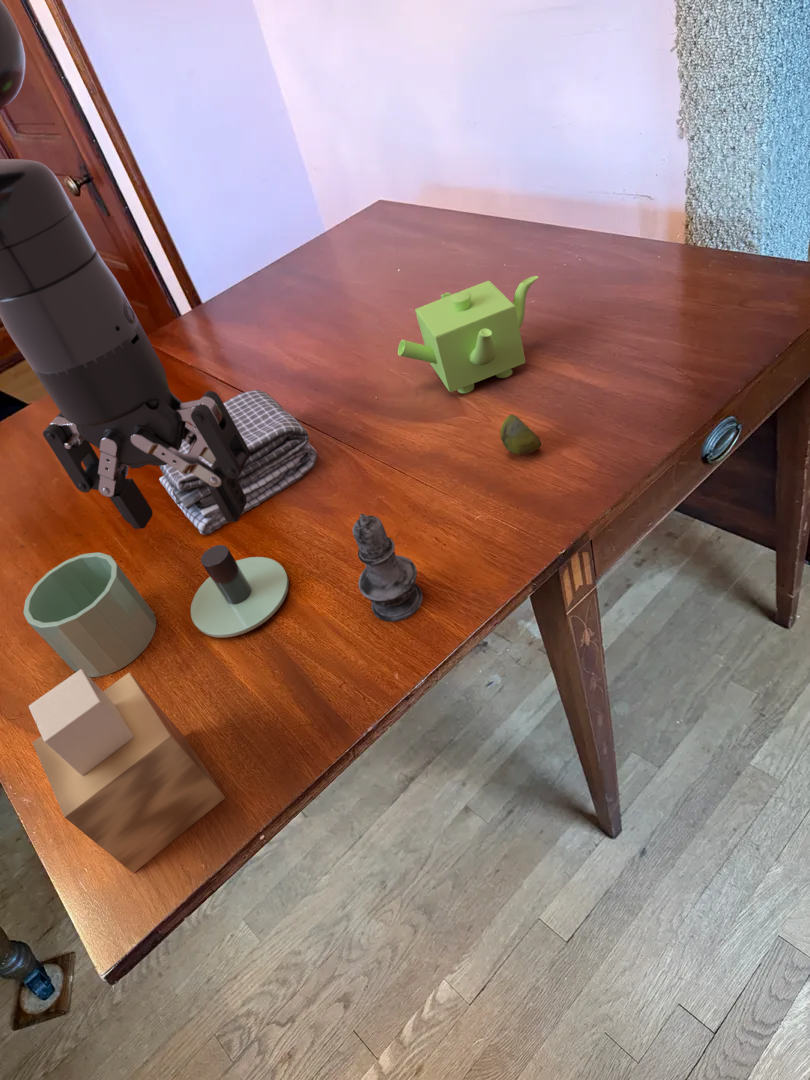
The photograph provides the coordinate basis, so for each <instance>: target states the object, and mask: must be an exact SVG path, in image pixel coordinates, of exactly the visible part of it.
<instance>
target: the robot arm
mask: <svg viewBox="0 0 810 1080" xmlns="http://www.w3.org/2000/svg"><path fill="white" fill-rule="evenodd" d="M24 47H25V46H24V43H23V40H22V37H21V34H20V30H19V29H18V25H17V24H16V21H15V20H14V17H13V16H12V14H11V12H10V11H9V9H8V7H7V6H6V4H5V3H4V2H3V0H0V111H2V110H4V109H5V108H7V107H8V106H9V105H10V104H11V103H12V102H13V101H14V100H15V99H16V97H18V94H19V93H20V91H21V89H22V86H23V84H24V81H25V76H26V75H25V74H26V53H25V48H24ZM0 320H1V322H2V324H3V326H4V328H5V329H6V331H7V333H8V335H9V336H10V338H11V340H12V341H13V342H14V344H15V346H16V347H17V349H18V350H19V352H20V354H21V355H22V357H23V358H24V359H25V360H26V362H27V364H28V365H29V366H30V368H31V370H32V372H33V373H34V375H35V376H36V377H37V379H38V380H39V382H40V383H41V385H42V387H43V388H44V390H45V391H46V393H47V394H48V395H49V397H50V398H51V400H52V401H53V403H54V405H55V406H56V407H57V409H58V410H59V412H58V414H57V415H56V417H54V418H53V420H52V421H51V422H50V423H49V425H47V426H46V428H45V429H44V430H43V431H42V435H43V438H44V439H45V440H46V442H47V444H48V445H49V447H50V448H51V451H52V452H53V454H54V455H55V456H56V458H57V460H58V461H59V463H60V465H61V466H62V467H63V469H64V471H65V472H66V474H67V476H68V477H69V479H70V480H71V481H72V483H73V484H74V486H75V488H76V489H77V490H78V491H80V492H82V493H89V492H90V491H91V490H95V491H98V492H99V493H100V494H101V495H102V496H104V497H106V498H109V500H110V501H111V502H112V504H113V506H115V508H116V510H117V512H118V513H119V514H120V516H121V517H122V519H123V520H124V521H125V522H126V523H128V524H130V526H131V527H132V529H133V530H142V529H145V528H146V527H147V525H148V524H149V522H150V520H151V518H152V517H153V509H152V507H151V505H150V504H149V502H148V501H147V500H146V497H145V496H144V495H143V493H142V491H141V490H140V489H139V486H137V484H136V482H135V480H134V479H133V478H132V477H130V478H127V477H128V473H129V468H130V469H131V470H132V469H141V468H142V467H145V466H157V467H158V466H161V465H167V464H168V465H170V466H172V467H173V468H175V469H176V470H178V471H179V472H181V473H183V474H187V473H192V474H193V475H195V476H196V477H198V478H200V479H201V480H203V481H204V482H206V483H207V484H209V485H210V486H209V488H208V489H209V491H210V493H211V494H212V496H213V498H214V500H215V502H216V503H217V505H218V507H219V509H220V511H221V512H222V514H223V516H224V518H225V520H226V521H227V523H237V522H238V521H239V520H240V518H241V516H242V515H243V514H242V512H243V510H244V507H245V505H246V503H247V499H246V496H245V494H244V492H243V490H242V488H241V486H240V484H239V482H238V480H237V479H236V478H238V477H239V475H240V473H241V471H242V469H243V467H244V465H245V463H246V461H247V460H248V458H249V456H250V450H249V449H248V447H247V445H246V443H245V441H244V440H243V438H242V436H241V434H240V432H239V431H238V429H237V427H236V425H235V424H234V422H233V420H232V418H231V416H230V415H229V413H228V411H227V409H226V407H225V406H224V404H223V403H224V402H223V400H222V399H221V397H220V395H219V394H218V393H217V392H216V391H213V390H207V391H205V392H204V394H203V395H202V396H201V398H200V399H196V400H191V401H186V402H183V401H182V400H180V399H179V398H178V397H177V396H176V395H175V394H174V393H173V392H172V390H171V389H170V386H169V384H168V380H167V379H168V378H167V373H166V369H165V367H164V365H163V363H162V362H161V360H160V358H159V356H158V354H157V351H156V350H155V348H154V347H153V345H152V343H151V341H150V339H149V338H148V337H149V336H148V335H147V334H146V332H145V330H144V328H143V326H142V324H141V322H140V320H139V318H138V317H137V314H136V313H135V311H134V309H133V307H132V305H131V303H130V302H129V300H128V298H127V296H126V294H125V292H124V290H123V288H122V287H121V285H120V283H119V282H118V279H117V278H116V277H115V275H114V274H113V273H112V271H111V269H109V267H108V265H107V264H106V262H105V261H104V260H103V258H102V257H101V255H100V253H99V252H98V250H97V249H96V247H95V245H94V243H93V241H92V239H91V237H90V236H89V234H88V232H87V229H86V227H85V226H84V224H83V222H82V221H81V219H80V216H79V215H78V213H77V211H76V210H75V208H74V206H73V203H72V202H71V200H70V197H69V196H68V194H67V192H66V191H65V189H64V187H63V185H62V184H61V182H60V181H59V179H58V177H57V176H56V174H55V173H54V172H53V170H51V169H50V168H49V167H48V166H47V165H45V164H44V163H42V162H41V161H38V160H33V159H25V158H9V159H8V158H5V159H3V158H0ZM192 425H193V426H192ZM182 440H185V441H186V442H187V443H188V444H189V445H190V450H189V452H188V453H187V454H183V453H181V452H179V451H178V450H179V449H180V447H181V445H182ZM92 446H94V447H95V448H97V449H99V452H100V454H99V456H98V455H97V453H96V452H95V449H94V448H93V447H92ZM199 456H200V457H202V458H204V459H205V460H207V461H208V462H210V463H212V464H213V465H212V467H210V466H209V465H207V464H206V463H204V462H203V461H201V460H200V459H199ZM82 464H83V465H82ZM83 466H84V467H85V468H83Z"/></svg>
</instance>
